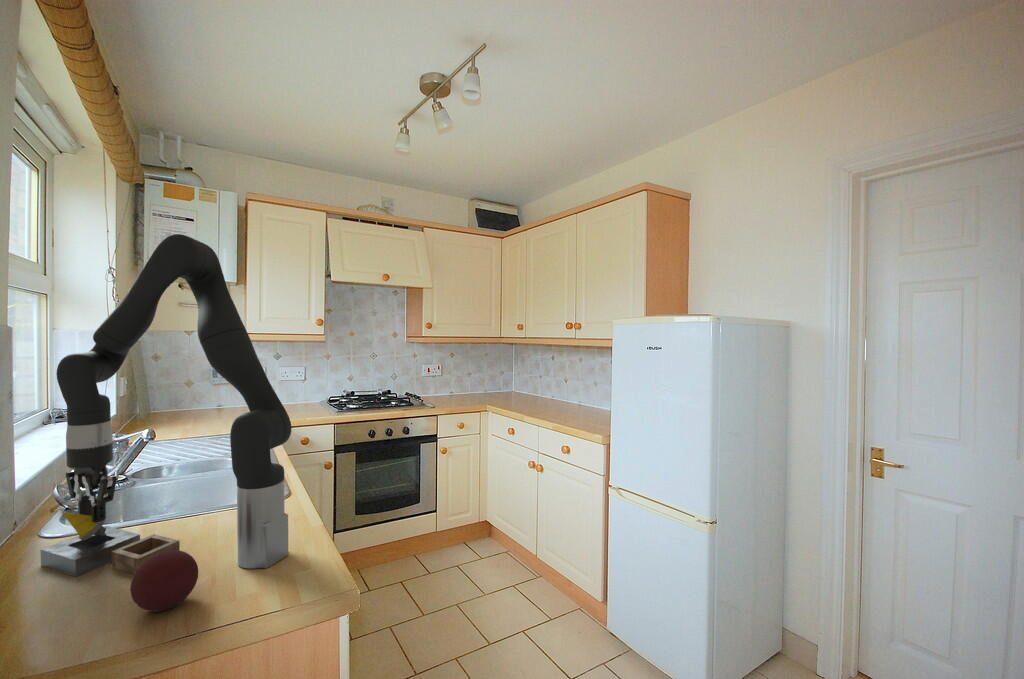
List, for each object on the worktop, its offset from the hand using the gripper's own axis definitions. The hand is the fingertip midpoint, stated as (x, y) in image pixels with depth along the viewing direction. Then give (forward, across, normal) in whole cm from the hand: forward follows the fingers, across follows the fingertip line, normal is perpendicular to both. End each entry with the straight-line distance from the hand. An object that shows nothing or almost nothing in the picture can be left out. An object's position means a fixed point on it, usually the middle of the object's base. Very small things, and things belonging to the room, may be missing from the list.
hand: (92, 519), depth 101 cm
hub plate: (+9, 0, 0) cm, 9 cm away
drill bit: (+4, 0, +1) cm, 5 cm away
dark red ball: (+9, -33, +6) cm, 35 cm away
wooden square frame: (+9, -13, -3) cm, 16 cm away
